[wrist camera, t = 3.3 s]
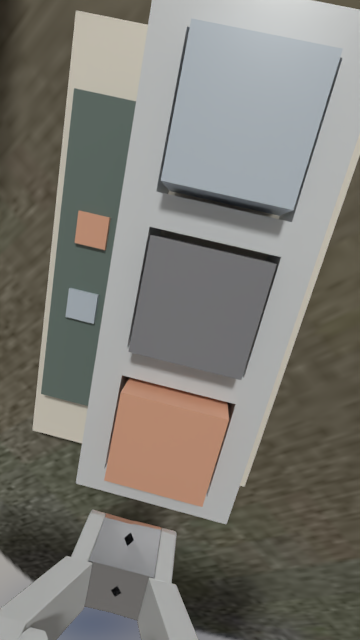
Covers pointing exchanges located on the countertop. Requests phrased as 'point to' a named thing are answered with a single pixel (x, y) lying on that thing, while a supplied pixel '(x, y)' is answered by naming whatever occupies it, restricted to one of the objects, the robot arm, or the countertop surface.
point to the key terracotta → (166, 441)
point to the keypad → (175, 230)
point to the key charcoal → (199, 306)
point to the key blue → (246, 116)
